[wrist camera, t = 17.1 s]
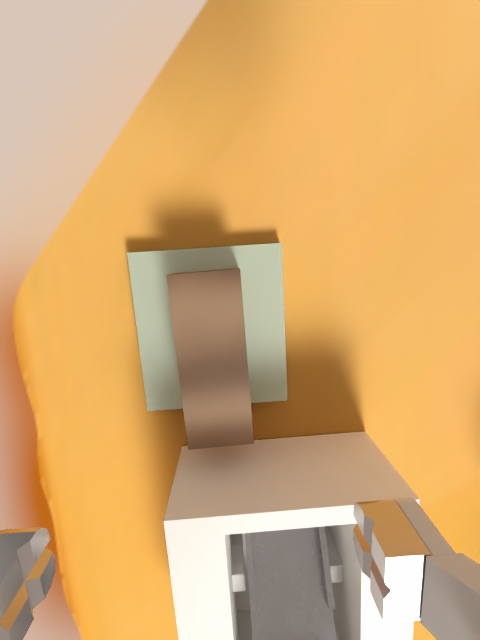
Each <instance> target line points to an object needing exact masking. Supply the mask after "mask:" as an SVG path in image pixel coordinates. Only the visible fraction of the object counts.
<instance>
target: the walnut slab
mask: <svg viewBox="0 0 480 640" xmlns="http://www.w3.org/2000/svg"><path fill="white" fill-rule="evenodd" d="M166 277H167V285H168V293H169V301H170V309H171V317H172V325H173V333H174V341H175V349H176V357H177V365H178V373H179V381H180V389H181V397H182V405H183V413H184V421H185V429H186V437H187V445H188V450H193V449H203V448H214V447H224V446H234V445H245V444H254V435H253V422H252V410H251V398H250V385H249V373H248V361H247V348H246V336H245V323H244V311H243V299H242V286H241V274H240V268H228V269H216V270H204V271H192V272H181V273H173V274H168V275H166Z"/></svg>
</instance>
